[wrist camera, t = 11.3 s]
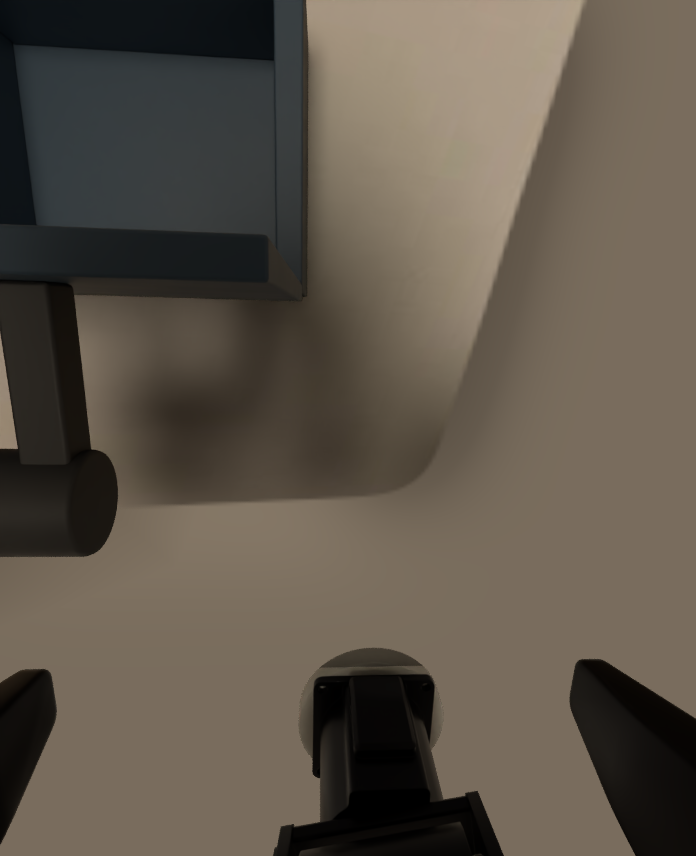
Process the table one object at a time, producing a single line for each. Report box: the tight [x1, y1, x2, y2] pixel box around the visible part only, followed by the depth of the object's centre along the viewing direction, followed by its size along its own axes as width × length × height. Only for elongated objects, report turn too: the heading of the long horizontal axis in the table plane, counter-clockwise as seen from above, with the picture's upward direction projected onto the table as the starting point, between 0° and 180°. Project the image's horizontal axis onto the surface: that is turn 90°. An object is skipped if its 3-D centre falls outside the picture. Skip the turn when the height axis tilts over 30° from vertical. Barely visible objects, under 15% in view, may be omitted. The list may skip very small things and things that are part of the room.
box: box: [0, 0, 308, 297], centre depth 15 cm, size 9×11×5 cm
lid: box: [0, 224, 302, 557], centre depth 10 cm, size 9×11×4 cm
